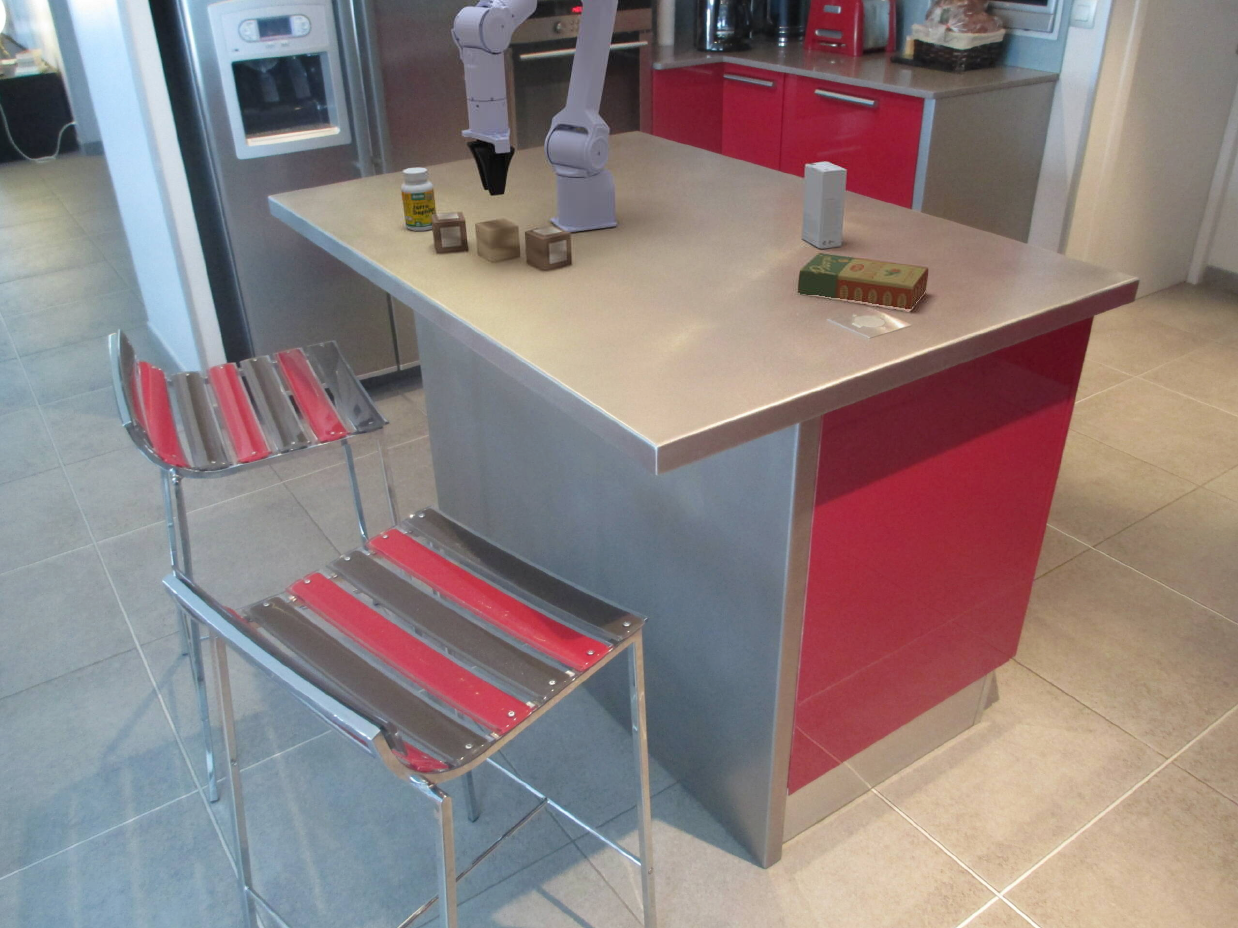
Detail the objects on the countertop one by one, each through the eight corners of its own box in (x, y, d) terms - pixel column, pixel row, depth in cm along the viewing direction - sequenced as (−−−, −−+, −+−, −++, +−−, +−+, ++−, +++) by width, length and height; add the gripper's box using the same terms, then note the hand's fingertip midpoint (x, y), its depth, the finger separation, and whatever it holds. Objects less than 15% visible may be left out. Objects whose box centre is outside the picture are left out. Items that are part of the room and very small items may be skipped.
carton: (910, 315, 132) (914, 285, 129) (795, 297, 138) (798, 267, 136) (925, 295, 138) (929, 265, 136) (815, 278, 145) (817, 250, 142)
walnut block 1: (465, 242, 161) (461, 210, 158) (468, 251, 157) (465, 219, 154) (434, 244, 160) (430, 213, 157) (436, 254, 156) (433, 222, 153)
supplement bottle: (429, 220, 171) (423, 164, 166) (442, 228, 167) (436, 171, 163) (400, 226, 169) (393, 169, 164) (413, 233, 165) (406, 175, 160)
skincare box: (842, 246, 156) (850, 169, 150) (817, 250, 155) (824, 172, 149) (822, 235, 161) (829, 160, 155) (798, 239, 160) (804, 163, 154)
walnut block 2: (553, 256, 154) (552, 224, 151) (572, 265, 150) (571, 232, 148) (526, 263, 151) (524, 230, 149) (545, 272, 148) (543, 238, 145)
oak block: (506, 249, 158) (504, 218, 155) (520, 257, 154) (518, 225, 151) (477, 254, 155) (474, 223, 153) (491, 263, 152) (488, 231, 149)
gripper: (448, 92, 147) (456, 183, 154) (472, 109, 136) (480, 207, 142) (493, 88, 149) (500, 178, 156) (521, 104, 138) (527, 201, 145)
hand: (494, 192), depth 150 cm, fingers open, 3 cm apart
